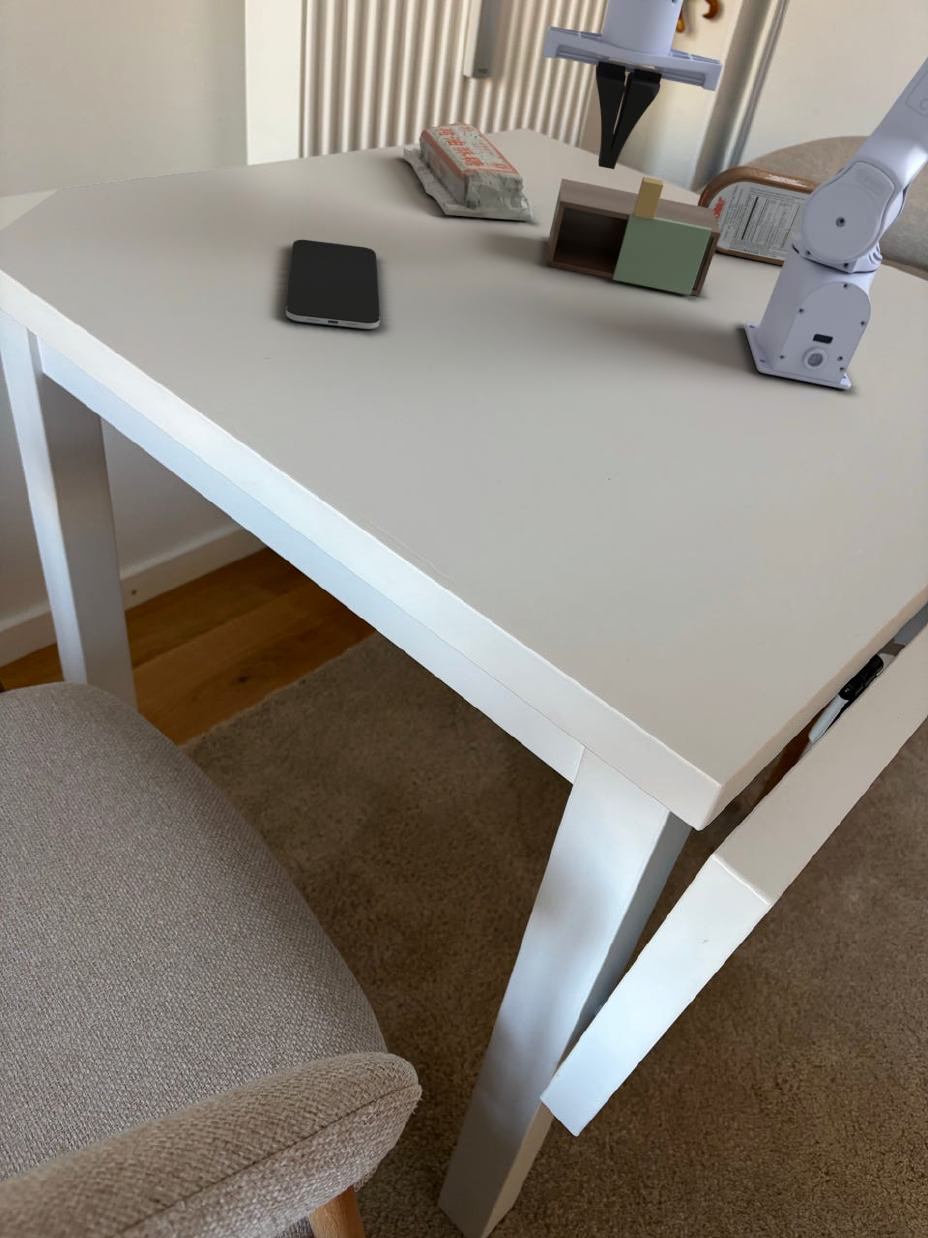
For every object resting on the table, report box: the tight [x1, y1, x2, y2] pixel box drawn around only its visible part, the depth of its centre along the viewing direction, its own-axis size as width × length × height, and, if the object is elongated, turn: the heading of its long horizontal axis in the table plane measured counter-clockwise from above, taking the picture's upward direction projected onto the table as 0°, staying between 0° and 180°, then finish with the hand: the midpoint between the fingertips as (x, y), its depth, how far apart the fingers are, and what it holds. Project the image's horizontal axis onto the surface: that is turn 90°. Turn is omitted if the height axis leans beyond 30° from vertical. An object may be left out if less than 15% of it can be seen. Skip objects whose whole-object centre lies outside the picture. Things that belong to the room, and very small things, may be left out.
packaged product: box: [403, 121, 536, 222], centre depth 100 cm, size 18×5×10 cm
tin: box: [696, 165, 823, 266], centre depth 97 cm, size 15×3×8 cm, turn 84°
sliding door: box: [612, 176, 711, 296], centre depth 85 cm, size 1×8×9 cm, turn 84°
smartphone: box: [285, 239, 381, 330], centre depth 77 cm, size 7×1×15 cm
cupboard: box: [545, 178, 721, 297], centre depth 90 cm, size 7×15×6 cm, turn 84°
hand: (606, 164), depth 82 cm, fingers closed
